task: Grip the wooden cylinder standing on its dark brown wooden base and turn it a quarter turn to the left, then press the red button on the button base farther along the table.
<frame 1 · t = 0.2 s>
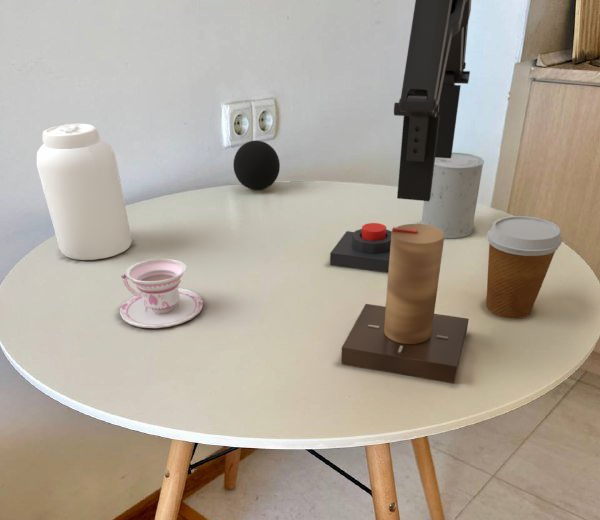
hand: (426, 176, 55), 24 cm above the table, tool pointing down, fingers open, 13 cm apart
gray concrete cylinder: (446, 229, 110), on the table
dark brown wooden base: (405, 348, 77), on the table
wooden cylinder: (412, 284, 71), point 9 cm above the table, hinge at 0.0°
red button: (373, 232, 97), point 4 cm above the table, slide at 0.1 cm
white lidded jar: (97, 248, 106), on the table
teacup: (162, 310, 87), on the table
button base: (372, 257, 100), on the table
decorative ball: (258, 190, 131), on the table
disposable coffee cup: (508, 309, 85), on the table
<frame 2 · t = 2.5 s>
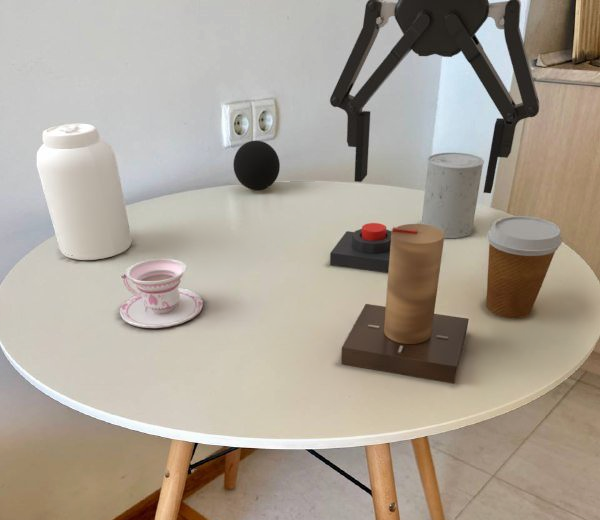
hand: (422, 183, 63), 21 cm above the table, tool pointing down, fingers open, 13 cm apart
nothing on the table moved.
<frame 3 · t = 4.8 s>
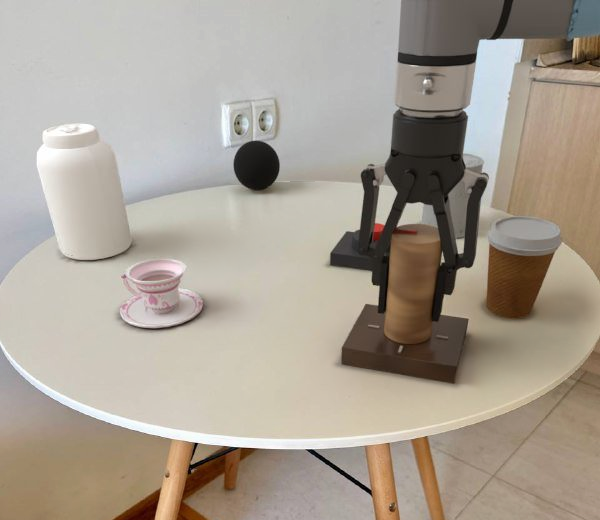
hand: (409, 312, 74), 5 cm above the table, tool pointing down, fingers closed on wooden cylinder, 6 cm apart
wooden cylinder: (412, 284, 71), point 9 cm above the table, hinge at 0.0°, touching gripper
everything else where it was.
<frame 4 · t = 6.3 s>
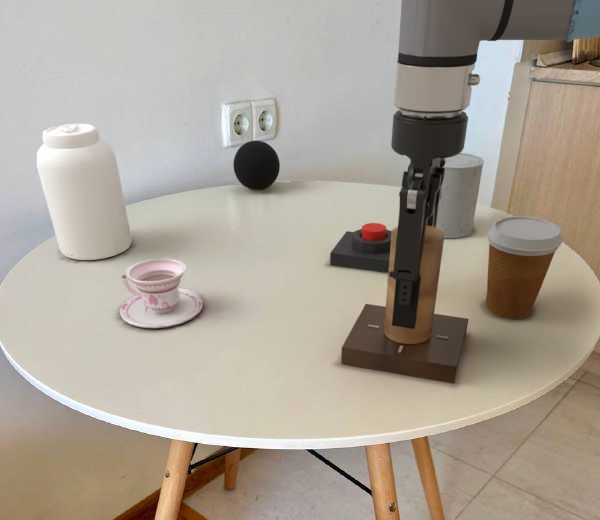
hand: (409, 312, 74), 5 cm above the table, tool pointing down, fingers open, 6 cm apart
wooden cylinder: (412, 284, 71), point 9 cm above the table, hinge at 89.4°
everything else where it was.
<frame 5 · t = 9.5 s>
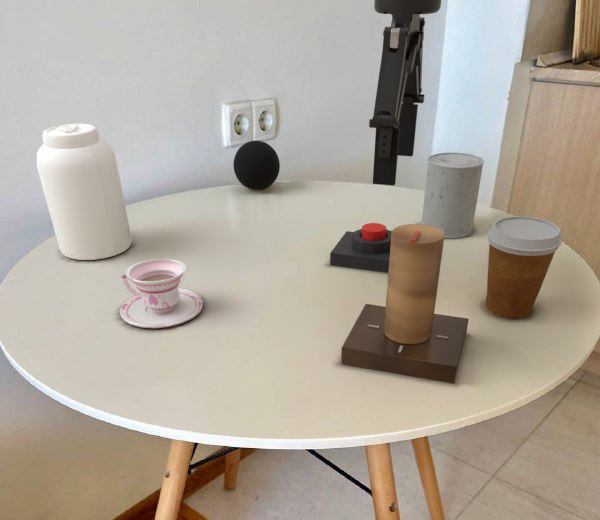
hand: (394, 168, 78), 18 cm above the table, tool pointing down, fingers open, 13 cm apart
nothing on the table moved.
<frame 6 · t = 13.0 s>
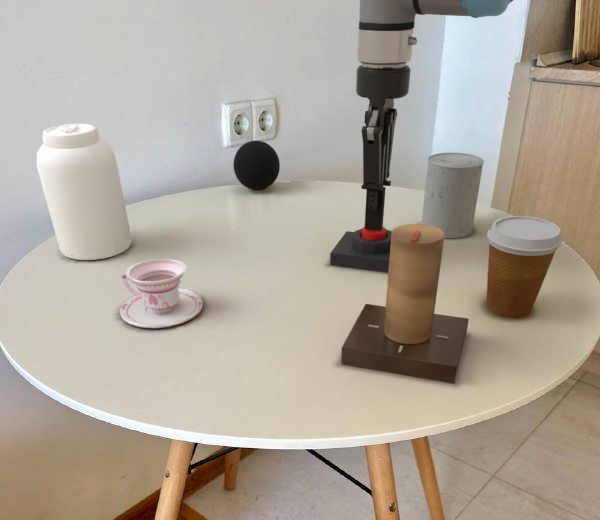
hand: (373, 227, 97), 5 cm above the table, tool pointing down, fingers closed
red button: (373, 234, 98), point 4 cm above the table, slide at -0.3 cm, touching gripper
everything else where it was.
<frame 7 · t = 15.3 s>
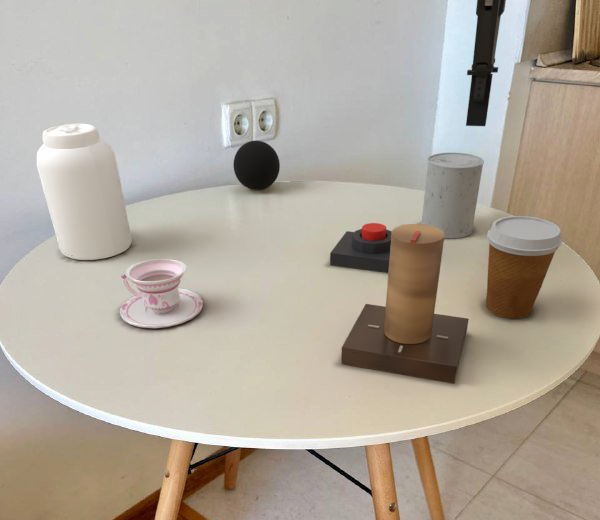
hand: (475, 124, 86), 21 cm above the table, tool pointing down, fingers closed
red button: (373, 232, 97), point 4 cm above the table, slide at 0.1 cm
everything else where it was.
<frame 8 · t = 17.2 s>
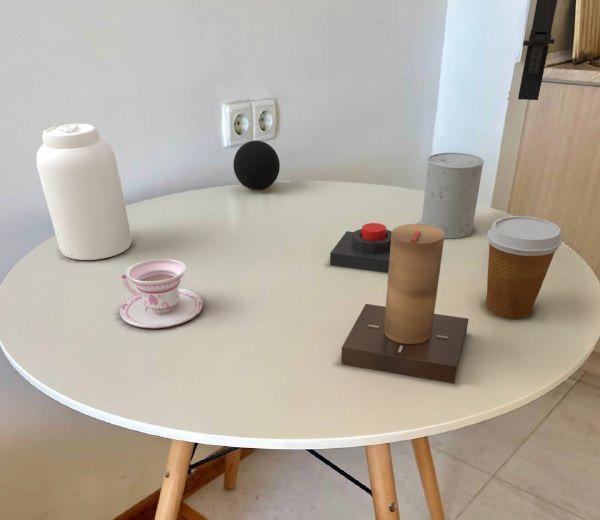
hand: (528, 98, 84), 24 cm above the table, tool pointing down, fingers closed
nothing on the table moved.
at the end: wooden cylinder at +89° (first picture: +0°); red button pushed in 1.0 cm at the most during the clip, back to where it started at the end; red button slide at 0.1 cm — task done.
